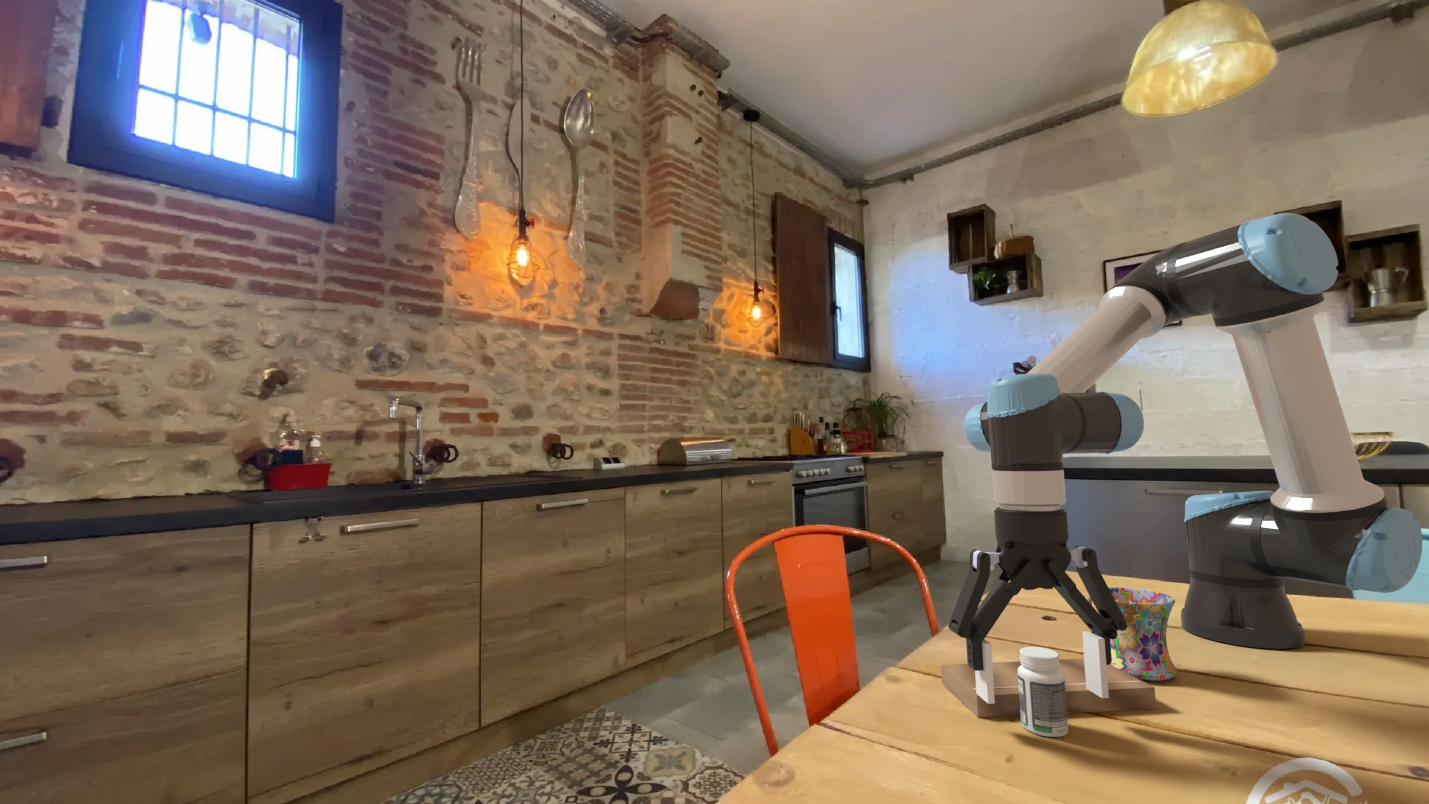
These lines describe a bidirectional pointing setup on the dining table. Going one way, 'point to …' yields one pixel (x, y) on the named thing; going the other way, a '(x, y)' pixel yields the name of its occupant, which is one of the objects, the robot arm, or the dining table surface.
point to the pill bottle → (1042, 692)
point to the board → (1121, 689)
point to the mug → (1142, 634)
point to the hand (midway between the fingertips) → (1041, 696)
